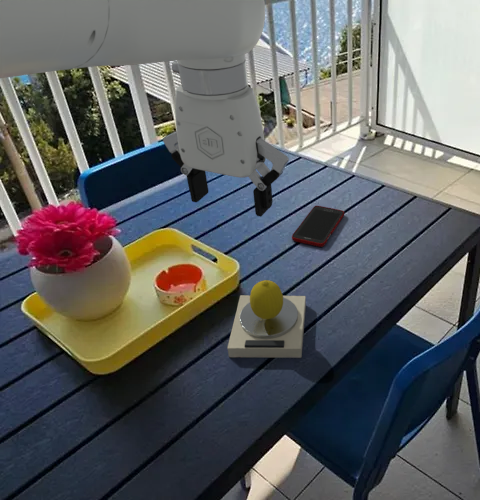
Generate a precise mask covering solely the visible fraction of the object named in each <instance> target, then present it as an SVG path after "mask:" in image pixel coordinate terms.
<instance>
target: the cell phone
mask: <svg viewBox="0 0 480 500" xmlns="http://www.w3.org/2000/svg"><path fill="white" fill-rule="evenodd" d="M344 217H345V211H344V210H342V209H338V208H332V207H327V206H322V205H314V206H313V207H312V209H311V210H310V211H309V212H308V214H307V215H306V216H305V217H304V219H303V220H302V221H301V223H300V224H299V225H298V227H297V228H296V230H294V232H293V233H292V235H291V240H292V241H293V242H297V243H300V244H301V243H302V244H305V245H309V246H310V245H311V246H314V247H320V248H321V247H323V248H324V246H325V245H326V244H327V242H328V240H329V239H330V238H331V235H333V233H334V232H335V230H336V229H337V227H338V226H339V224H340V223H341V221H342V219H343V218H344Z"/></svg>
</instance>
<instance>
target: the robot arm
mask: <svg viewBox="0 0 480 500" xmlns="http://www.w3.org/2000/svg"><path fill="white" fill-rule="evenodd" d="M265 22H266V3H265V0H0V79H6V78H13V77H21V76H29V75H35V74H43V73H49V72H57V71H58V72H59V71H65V70H73V69H83V68H92V67H107V66H108V67H110V66H111V67H112V66H113V67H120V66H122V67H123V66H137V65H147V64H157V63H166V62H171V70H172V72H173V73H174V74H177V75H179V79H180V85H178V86H177V87H176V89H175V101H174V103H175V104H174V105H175V106H174V107H175V108H174V109H175V111H174V112H175V114H174V115H175V127H176V131H173V132H172V133H170V134H168V135H166V136H165V137H163V139H162V142H163V144H164V145H165V147H166V149H167V151H168V152H169V153H171V154H170V156H171V159H172V160H173V161H174V162H175V163H176V164H177V165H178V166H179V167H180V172H181V174H183V176H186V180H187V185H188V190H189V191H188V192H189V195H190V200H191V201H192V202H193V203H199V201H201V200H202V199H203V198H204V197H206V196H207V195H208V194H209V185H208V179H207V174H206V173H207V172H208V173H214V174H218V175H224V176H228V177H234V178H240V179H242V178H248V179H249V180H250V181H251V182H252V183H253V185H254V186H255V188H254V189H253V193H252V194H253V203H254V204H253V205H254V209H255V210H254V213H255V216H256V217H260V218H261V217H263V215H264V214H265V213H266V212H267V211H268V210H270V208H272V206H273V202H274V201H273V190H272V184H273V183H274V182H275V181H276V180H277V179H279V178H280V176H282V174H283V173H284V170H285V168H286V167H287V165H288V163H289V161H290V159H289V156H288V155H287V154H285V153H283V152H282V151H281V150H280V149H278V148H276V147H275V146H273V145H271V144H270V143H269V142H267V141H266V140H265V134H264V128H263V121H262V117H261V113H260V108H259V103H258V101H257V97H256V95H255V91H254V89H253V87H251V86H249V80H248V71H247V59H246V58H247V57H246V54H249V53H250V52H251V51H252V50H253V49H254V48H255V47H256V45H257V44H258V43H259V41H260V39H261V37H262V34H263V32H264V28H265ZM266 160H267V161H269V162H270V163H271V164H272V167H271V169H270V167H268V166H267V165H266V164H265V162H266Z"/></svg>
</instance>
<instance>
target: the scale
mask: <svg viewBox="0 0 480 500" xmlns="http://www.w3.org/2000/svg"><path fill="white" fill-rule="evenodd" d="M306 299H307V298H306V295H283V306H282V309H281V311H280V313H279V314H278V315H277V316H276V317H274V318H272V319H262V318H259V317H258V316H256V315H255V314H254V312H253V311H252V309H251V305H250V294H249V295H239V299H238V303H237V307H236V312H235V316H234V320H233V324H232V327H231V332H230V336H229V340H228V344H227V354H228V358H274V359H275V358H277V359H278V358H280V359H281V358H282V359H283V358H285V359H286V358H289V359H291V358H293V359H294V358H296V359H301V358H302V357H303V355H302V354H303V343H304V331H305V319H306V310H307V309H306V308H307V300H306Z"/></svg>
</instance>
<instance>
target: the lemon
mask: <svg viewBox="0 0 480 500" xmlns="http://www.w3.org/2000/svg"><path fill="white" fill-rule="evenodd" d="M249 295H250V305H251V309H252V311H253V312H254V314H255V315H256V316H258V317H259V318H262V319H272V318H274V317H276V316H277V315H278V314H279V313H280V311H281V309H282V306H283V296H284V295H283V292H282V290H281V287H280V286H279V285H278V284H277V283H276V282H275V281H272V280H270V279H269V280H268V279H263V280H260V281H258V282H256V283H255V284H254V285H253V286H252V288H251V291H250V294H249Z"/></svg>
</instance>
